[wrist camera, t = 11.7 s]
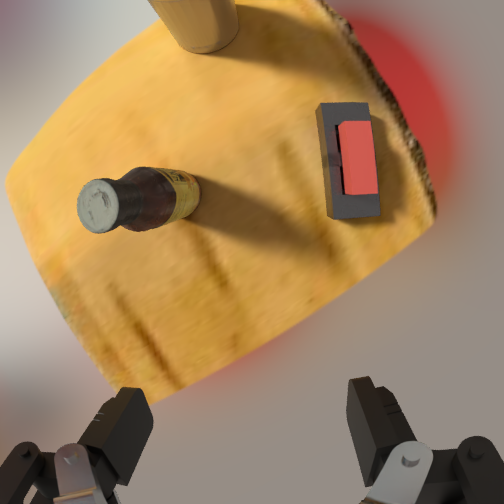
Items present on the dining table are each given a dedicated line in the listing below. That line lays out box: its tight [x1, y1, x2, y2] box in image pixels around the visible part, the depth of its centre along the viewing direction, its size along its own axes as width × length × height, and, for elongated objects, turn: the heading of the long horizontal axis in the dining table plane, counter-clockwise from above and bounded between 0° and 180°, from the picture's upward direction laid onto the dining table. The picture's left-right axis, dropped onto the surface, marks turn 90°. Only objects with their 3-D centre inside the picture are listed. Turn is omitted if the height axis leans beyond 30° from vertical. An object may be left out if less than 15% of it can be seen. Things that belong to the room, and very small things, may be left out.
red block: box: [336, 121, 378, 195], centre depth 33 cm, size 8×3×7 cm, turn 6°
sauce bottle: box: [77, 167, 201, 233], centre depth 29 cm, size 6×6×20 cm
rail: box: [315, 102, 380, 220], centre depth 35 cm, size 14×6×4 cm, turn 6°
